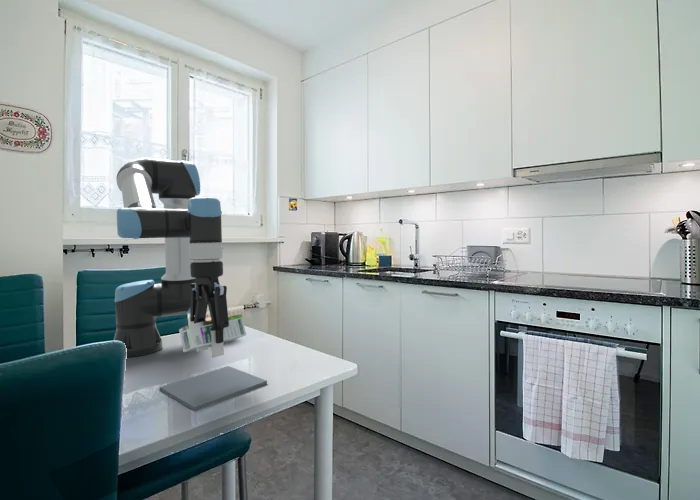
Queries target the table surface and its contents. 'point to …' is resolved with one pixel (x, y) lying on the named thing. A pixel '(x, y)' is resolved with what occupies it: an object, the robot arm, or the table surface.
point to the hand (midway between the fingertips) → (209, 352)
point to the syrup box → (201, 333)
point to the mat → (212, 387)
